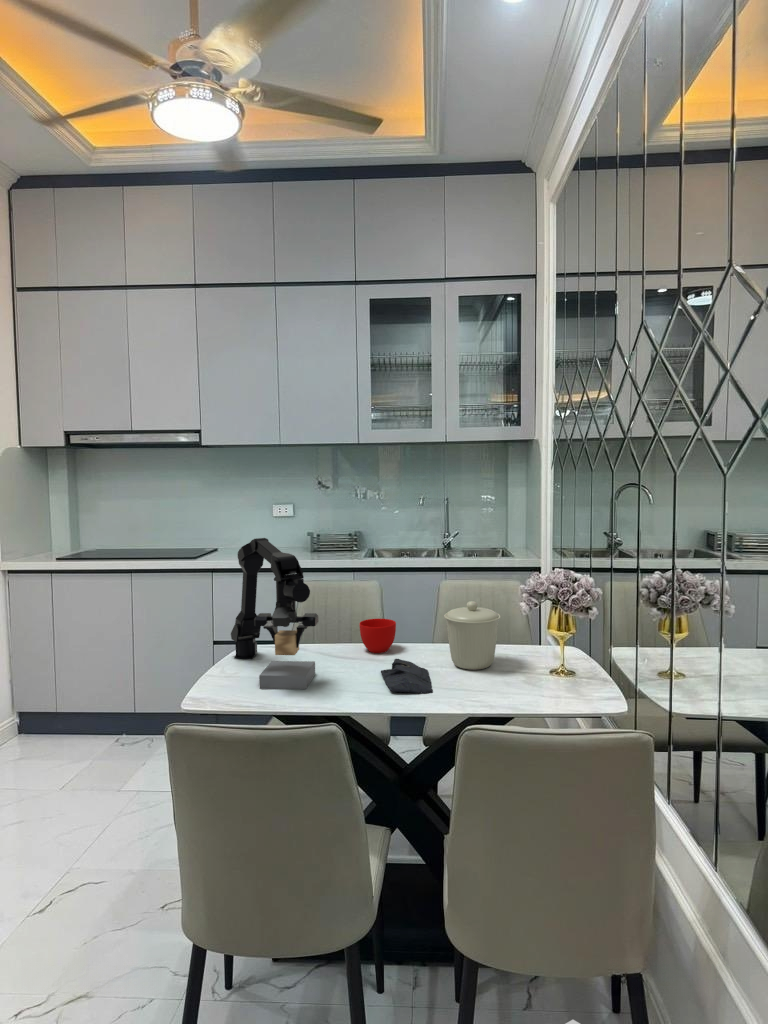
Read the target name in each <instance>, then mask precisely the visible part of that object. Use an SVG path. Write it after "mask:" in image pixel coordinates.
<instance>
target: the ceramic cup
mask: <svg viewBox="0 0 768 1024" xmlns="http://www.w3.org/2000/svg"><path fill="white" fill-rule="evenodd" d="M396 631H397V622H396V621H395V620H393V619H390V618H389V619H388V618H371V619H370V618H369V619H364V620H362V621H360V622H359V633H360V640H361V641H362V644H363V646H364V647H365V648H366V649H367V650H368V651H369V652H370V653H372V654H373V653H374V654H382V653H386V652H388V650H389V649H390V648H391V647H392V646H393V643H394V641H395V638H396Z"/></svg>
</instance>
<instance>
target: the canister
mask: <svg viewBox="0 0 768 1024" xmlns="http://www.w3.org/2000/svg"><path fill="white" fill-rule="evenodd" d="M478 606H479V605H478V603H477V602H476V601H474V600H473V601H472V600H470V601H467V603H466V606H463V607H457V608H452V609H451V610H449V611H448V612H446V613H445V614H444V615H443V617H444V619H445V621H446V628H447V639H448V644H449V652H450V658H451V661H452V663H453V664H454V665H455V666H456V667H457V668H460V669H463V670H468V671H469V670H472V671H473V670H474V671H475V670H476V671H478V670H483V669H487V668H489V667H490V666H492V665H493V662H494V660H495V653H496V648H497V647H496V646H497V638H498V629H499V620H501V614H499V613H498V612H497V611H495V610H492V609H490V608H487V607H486V608H485V607H478Z"/></svg>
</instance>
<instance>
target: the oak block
mask: <svg viewBox="0 0 768 1024" xmlns="http://www.w3.org/2000/svg"><path fill="white" fill-rule="evenodd" d="M296 640H297V629H296V630H293V629H292V630H291V629H290V630H284V629H282V630H278V633H277V634H276V635H275V644H274V655H275V656H296V655H297V653H298V652H299V650H300V646H299V647H298V648H297V647H296Z"/></svg>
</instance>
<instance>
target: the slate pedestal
mask: <svg viewBox="0 0 768 1024" xmlns="http://www.w3.org/2000/svg"><path fill="white" fill-rule="evenodd" d="M315 675H316V661H314V660H310V661H309V660H308V661H307V660H304V661H302V660H298V661H297V660H294V661H293V660H271V661H270V662H269V663H268V665H266V667H265V668H264V669H263V670H262V672H260V674H259V675H258V678H259V681H258V682H259V683H258V686H259V689H262V690H264V689H265V690H266V689H267V690H268V689H269V690H274V689H275V690H307V688H308V687H309V685H310V684H311V682H312V680H313V678H314V677H315Z"/></svg>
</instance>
